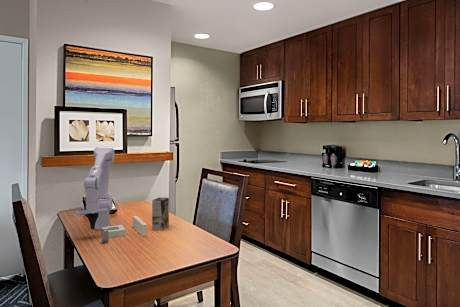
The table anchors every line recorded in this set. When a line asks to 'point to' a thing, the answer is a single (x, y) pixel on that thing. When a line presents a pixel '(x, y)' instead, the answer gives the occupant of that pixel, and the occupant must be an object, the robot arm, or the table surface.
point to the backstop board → (140, 226)
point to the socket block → (115, 231)
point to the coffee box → (160, 213)
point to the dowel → (105, 236)
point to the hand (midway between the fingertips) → (92, 228)
